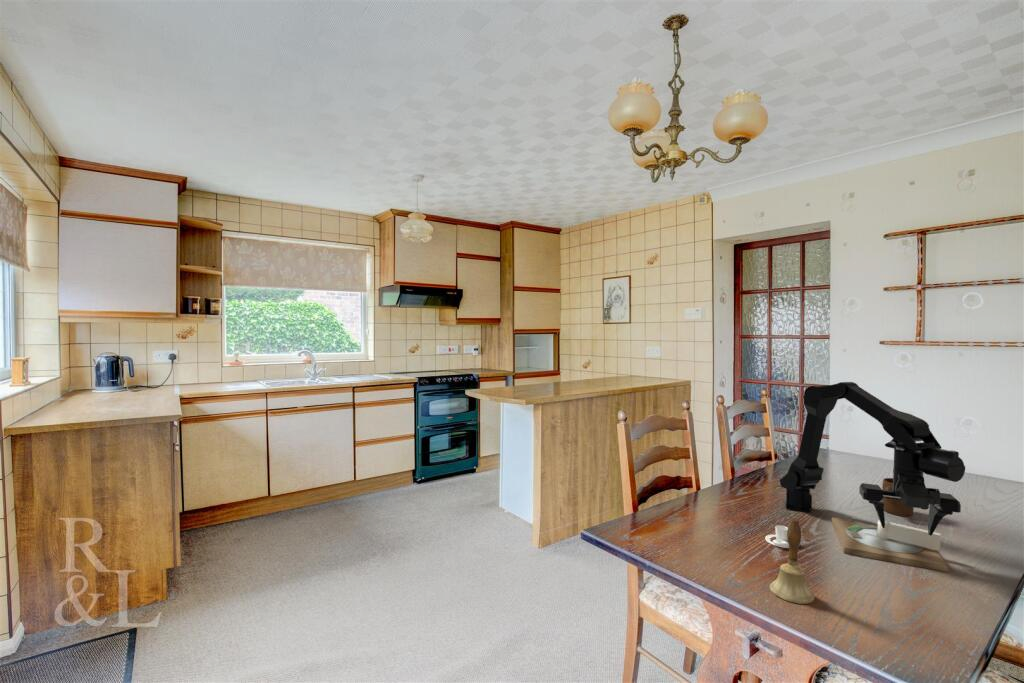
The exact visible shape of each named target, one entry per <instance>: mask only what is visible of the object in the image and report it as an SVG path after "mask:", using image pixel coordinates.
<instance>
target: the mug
mask: <svg viewBox="0 0 1024 683" xmlns="http://www.w3.org/2000/svg"><path fill="white" fill-rule="evenodd" d="M892 485H893V477H886V478H883V480H882V487H881V489H882V490H889V491H893V489H892ZM882 502H883V503H884V512H886V513H887V514H888V513H889V514H890V515H895V516H901V517H911V516H913V515H914V511H915V510H914V507H912V508H909V507H906V506H904V505H903V504H902V500H898V499H891V498H883V500H882Z"/></svg>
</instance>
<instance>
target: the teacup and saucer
mask: <svg viewBox="0 0 1024 683" xmlns="http://www.w3.org/2000/svg"><path fill="white" fill-rule="evenodd" d="M788 527H789V526H788ZM788 527H787V526H785V525H782V524H781V525H779V524H778V525H775V534H767V535H766V536H765V541H766V542H767V543H769V544H771V545H773V546H775V547H778V548H785V549H789V543H788V539H787V530H788ZM774 537H775V539H773V540H772V541H771V538H774ZM800 545H801V543H800V544H799V547H800Z"/></svg>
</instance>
